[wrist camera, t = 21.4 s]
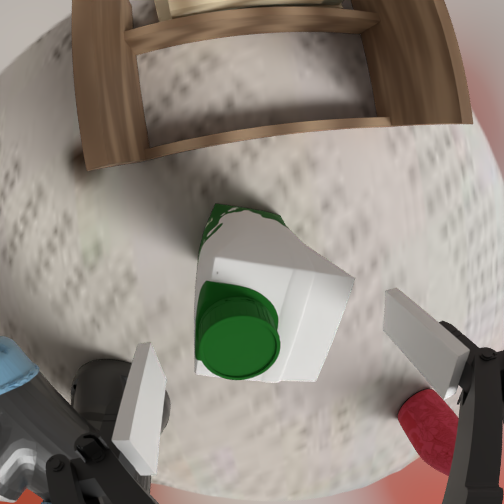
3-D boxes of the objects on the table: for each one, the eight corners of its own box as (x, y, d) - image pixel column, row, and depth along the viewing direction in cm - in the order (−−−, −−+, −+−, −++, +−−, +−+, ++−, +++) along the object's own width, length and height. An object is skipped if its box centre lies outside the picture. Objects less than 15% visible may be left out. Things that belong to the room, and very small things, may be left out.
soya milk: (208, 193, 31) (203, 256, 12) (291, 209, 33) (389, 284, 14) (194, 271, 34) (183, 405, 15) (272, 282, 35) (332, 410, 17)
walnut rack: (138, 162, 29) (87, 171, 16) (119, 9, 23) (76, -53, 10) (388, 126, 31) (473, 124, 18) (357, -10, 25) (417, -59, 12)
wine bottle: (396, 400, 47) (473, 519, 18) (437, 378, 47) (521, 481, 19) (393, 427, 50) (456, 533, 22) (431, 407, 50) (499, 501, 22)
